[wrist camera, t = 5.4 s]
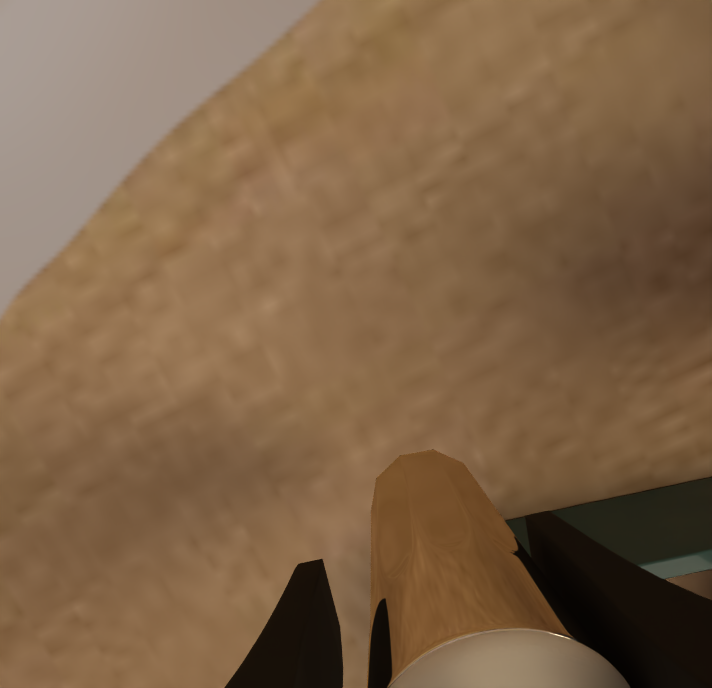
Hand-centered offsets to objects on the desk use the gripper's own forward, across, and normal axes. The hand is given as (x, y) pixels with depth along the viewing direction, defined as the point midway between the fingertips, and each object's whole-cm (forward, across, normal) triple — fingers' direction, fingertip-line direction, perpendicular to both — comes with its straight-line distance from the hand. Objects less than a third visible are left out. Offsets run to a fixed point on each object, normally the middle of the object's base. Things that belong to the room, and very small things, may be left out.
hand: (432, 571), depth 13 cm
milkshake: (+4, 0, 0) cm, 4 cm away
